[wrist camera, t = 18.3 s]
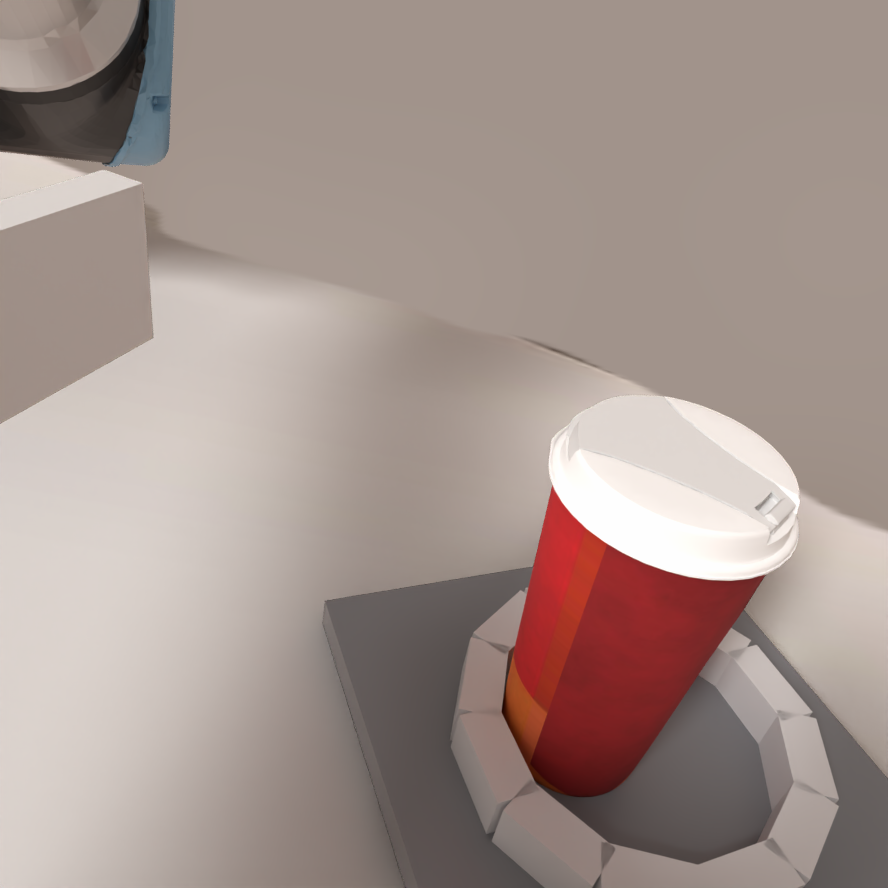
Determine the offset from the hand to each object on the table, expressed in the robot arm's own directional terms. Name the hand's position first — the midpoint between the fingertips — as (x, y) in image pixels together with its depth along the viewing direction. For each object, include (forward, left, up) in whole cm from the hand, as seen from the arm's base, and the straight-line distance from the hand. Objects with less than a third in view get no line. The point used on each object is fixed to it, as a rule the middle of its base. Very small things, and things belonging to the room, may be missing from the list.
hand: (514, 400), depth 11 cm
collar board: (-5, +12, -22) cm, 26 cm away
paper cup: (-6, +10, -21) cm, 24 cm away
